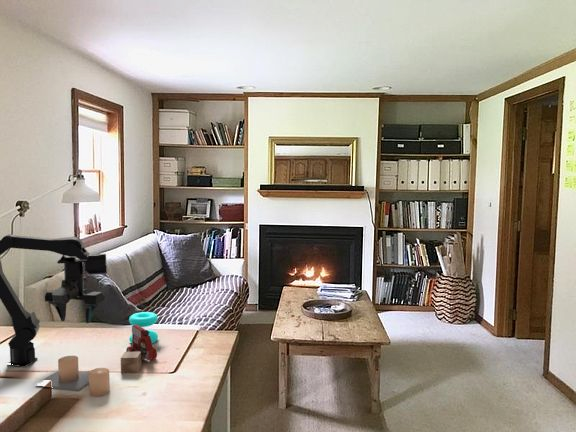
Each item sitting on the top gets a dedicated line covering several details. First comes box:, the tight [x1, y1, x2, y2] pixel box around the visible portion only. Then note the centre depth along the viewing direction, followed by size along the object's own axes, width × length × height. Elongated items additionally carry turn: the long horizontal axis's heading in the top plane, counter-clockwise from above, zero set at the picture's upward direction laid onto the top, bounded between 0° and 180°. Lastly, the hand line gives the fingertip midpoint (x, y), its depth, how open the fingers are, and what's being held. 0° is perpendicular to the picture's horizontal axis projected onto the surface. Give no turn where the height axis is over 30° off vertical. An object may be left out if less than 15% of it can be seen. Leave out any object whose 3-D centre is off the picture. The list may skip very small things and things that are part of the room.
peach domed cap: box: [88, 367, 111, 398], centre depth 136 cm, size 5×5×6 cm
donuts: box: [128, 311, 159, 344], centre depth 176 cm, size 10×10×10 cm
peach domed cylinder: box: [57, 355, 80, 383], centre depth 143 cm, size 5×5×6 cm
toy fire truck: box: [125, 325, 158, 363], centre depth 160 cm, size 7×12×10 cm, turn 42°
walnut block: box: [120, 351, 142, 374], centre depth 151 cm, size 5×5×5 cm
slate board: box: [42, 370, 90, 392], centre depth 143 cm, size 14×11×1 cm
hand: (75, 322), depth 160 cm, fingers open, 9 cm apart
